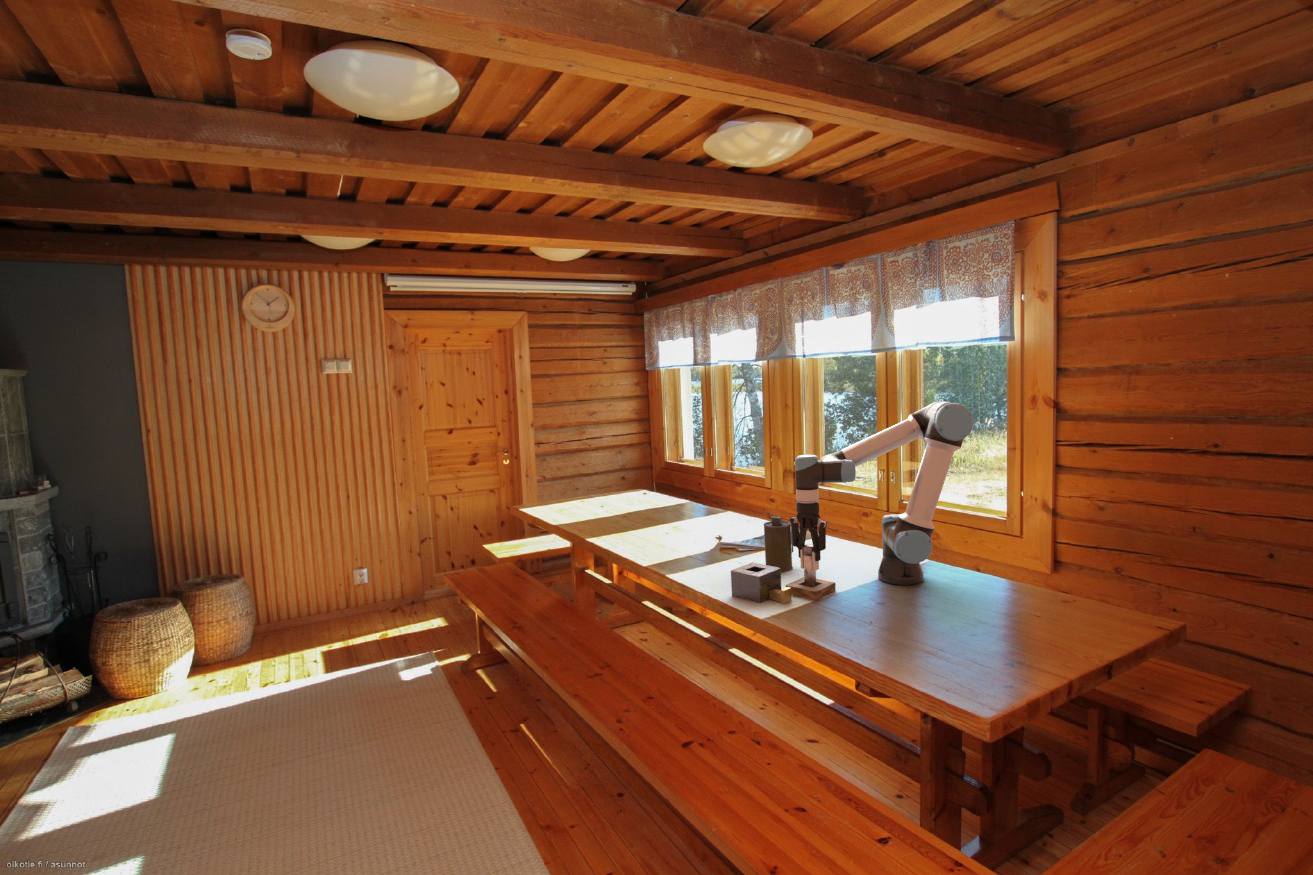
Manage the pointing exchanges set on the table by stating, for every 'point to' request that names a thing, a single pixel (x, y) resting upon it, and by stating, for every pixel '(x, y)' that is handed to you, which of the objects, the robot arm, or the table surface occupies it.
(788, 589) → the yellow notched block
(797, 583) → the brown flat square frame
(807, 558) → the pink cylindrical peg
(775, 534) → the canister
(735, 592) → the socket block
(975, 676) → the table surface
